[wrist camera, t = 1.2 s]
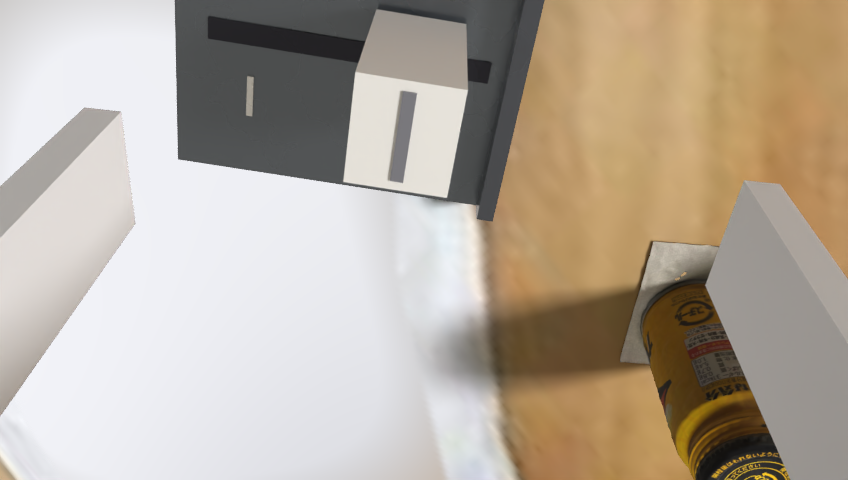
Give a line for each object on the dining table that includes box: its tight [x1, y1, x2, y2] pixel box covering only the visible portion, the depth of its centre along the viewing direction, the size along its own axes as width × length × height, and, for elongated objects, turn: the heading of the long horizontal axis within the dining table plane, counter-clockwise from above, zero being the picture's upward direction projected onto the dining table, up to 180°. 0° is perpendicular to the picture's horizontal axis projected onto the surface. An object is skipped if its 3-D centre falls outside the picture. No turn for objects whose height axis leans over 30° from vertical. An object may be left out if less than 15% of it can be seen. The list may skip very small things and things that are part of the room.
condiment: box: [620, 241, 790, 480], centre depth 38 cm, size 7×8×12 cm
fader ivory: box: [343, 9, 468, 198], centre depth 31 cm, size 4×4×8 cm
